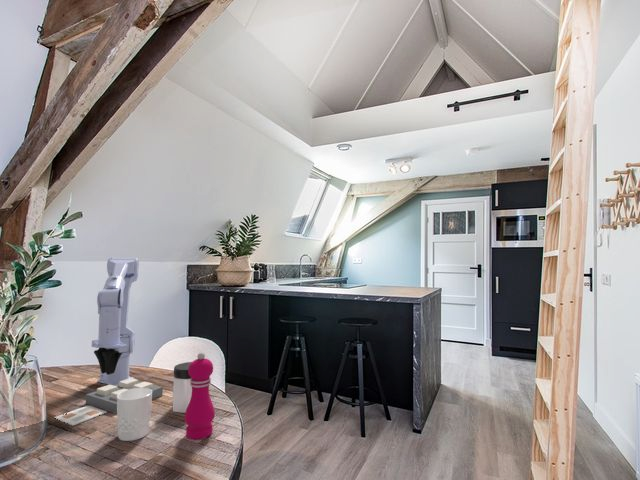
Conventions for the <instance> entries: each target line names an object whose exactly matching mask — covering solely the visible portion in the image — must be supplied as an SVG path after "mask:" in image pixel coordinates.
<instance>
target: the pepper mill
mask: <svg viewBox="0 0 640 480" xmlns="http://www.w3.org/2000/svg"><path fill="white" fill-rule="evenodd" d="M205 357H206V354H205V353H204V352H199V353H198V354H197V359H195V360H193V361H191V362H192V363H191V364H190V365H189V369H188V373H189V376H190V377H191V378H192V379H191V380H190V382H191V383H190V386H192V396H191V399H190V402H189V404H188V407H187V409H186V412H185V413H184V423H185V424H186V425H187V426H186V429H185V431H186V432H185V436H186V437H187V438H188V439H190V440H203V439H207V438H208V437H209V436H211V435H212V434H213V430H214V429H213V427H214V426H213V423H212V422H213V421H214V419H215V417H216V413H215V407H214V404H213V401H212V398H211V396H210V385H211V383H212V381H211V380H212V377H211V375H213V372H214V365H213V363H212V360H210V359H208V358H205Z"/></svg>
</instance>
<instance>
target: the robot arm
mask: <svg viewBox="0 0 640 480" xmlns="http://www.w3.org/2000/svg"><path fill="white" fill-rule="evenodd" d="M139 261H140V260H139V258H138V257H137V256H136V257H112V256H110V257H109V258H108V259H107V263H106V272H107V274H108V277H107V279H106V280H105V284H104V285H103V288H102V289H101V291H100V290H99V291H98V293H97V297H96V303H97V314H98V337H97V339H94V340H91V347H92V348H96V350H94V351H93V354H94V355H95V357H96V358H97V362H98V363H99V364H98V365H99V368H100V371H99V379H97V383H98V382H99V383H102V384H105V385H113V386H114V385H117V384H119V382H120V381H123V380H126V379H129V378H133V379H136V378H135V377H132V376H130V365H131V364H130V362H131V361H130V360H131V359H130V358H131V354H133V353H134V351H135V347H136V346H135V345H136V339H135V338H136V334H135V333H136V332H135V331H134V330H132V329H131V328H130V327H128V318H129V303H130V294H131V287H132V284H133V283H135V282H136V281H137V280H138V278H139V277H138V276H139V265H140V263H139Z"/></svg>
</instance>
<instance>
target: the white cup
mask: <svg viewBox="0 0 640 480" xmlns="http://www.w3.org/2000/svg"><path fill="white" fill-rule="evenodd" d="M152 400H153V399H152V390H151V389H148V388H135V389H130V390H126V391H123V392H121V393H119V394H118V395H117V413H116V418H117V419H116V421H117V438H118V439H119V440H120V441H125V442H130V441H131V442H132V441H136V440H139V439H142V438H144V437H146V436H147V435H148V434H149V431H150V430H149V429H150V421H151V413H152Z"/></svg>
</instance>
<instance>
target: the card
mask: <svg viewBox="0 0 640 480" xmlns="http://www.w3.org/2000/svg"><path fill="white" fill-rule="evenodd" d="M66 413H67V415H65V414H66ZM104 413H105V414H107V413H108V410H105V409H102V408H99V407H96V406H93V405H90V404H87V405H85V406H83V407H82V406H81V407H80V408H76V409H74V410H71V411H68V412H65V413H63V414H64V415H63V414H60V415H57V416H53V419H54V418H56V419H55V420H57V419H58V420H57V421H59V420H60V421H59V422H61V423H64V422H65V424H67V423H68V424H67V425H70V426H76V425H78V424H81V423H84V422H86V421H89V420H91V419H94V417H95V418H97V417H99V415H100V416H103V415H105V414H104Z"/></svg>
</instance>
